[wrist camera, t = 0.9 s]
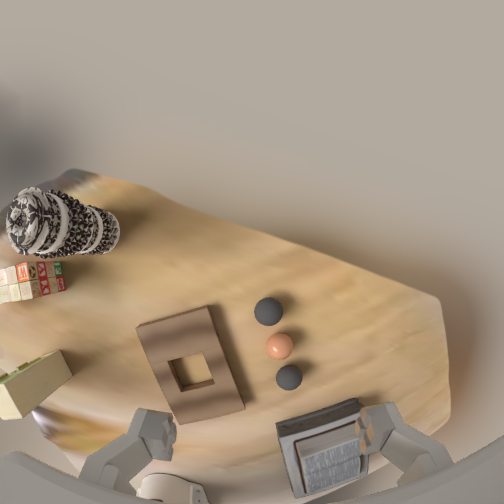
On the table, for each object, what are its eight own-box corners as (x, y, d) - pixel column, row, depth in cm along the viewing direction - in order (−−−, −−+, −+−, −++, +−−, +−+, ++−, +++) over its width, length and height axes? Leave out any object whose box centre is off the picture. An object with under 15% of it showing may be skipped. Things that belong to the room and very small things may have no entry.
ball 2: (301, 378, 52) (308, 389, 47) (277, 386, 51) (282, 398, 46) (295, 358, 52) (301, 367, 47) (271, 366, 51) (275, 377, 46)
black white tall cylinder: (131, 230, 49) (60, 214, 24) (101, 266, 48) (19, 276, 23) (102, 198, 48) (25, 164, 23) (74, 233, 47) (-11, 223, 22)
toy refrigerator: (58, 345, 47) (1, 379, 26) (73, 375, 47) (23, 419, 26) (37, 353, 46) (-18, 385, 25) (51, 381, 46) (2, 421, 25)
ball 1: (282, 316, 51) (288, 323, 46) (257, 325, 51) (261, 332, 46) (275, 292, 51) (280, 296, 46) (249, 300, 51) (252, 305, 46)
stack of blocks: (5, 301, 45) (-28, 309, 33) (0, 275, 45) (-33, 279, 33) (66, 290, 47) (32, 298, 35) (61, 260, 47) (26, 261, 35)
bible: (372, 391, 54) (394, 410, 44) (356, 468, 54) (370, 489, 44) (274, 409, 52) (283, 435, 42) (273, 486, 52) (279, 511, 42)
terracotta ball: (292, 349, 52) (299, 358, 47) (268, 357, 51) (272, 367, 46) (285, 326, 51) (292, 333, 46) (260, 335, 51) (264, 343, 46)
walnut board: (244, 403, 51) (245, 409, 48) (180, 418, 49) (179, 425, 47) (207, 305, 50) (207, 307, 48) (139, 325, 49) (135, 328, 46)
